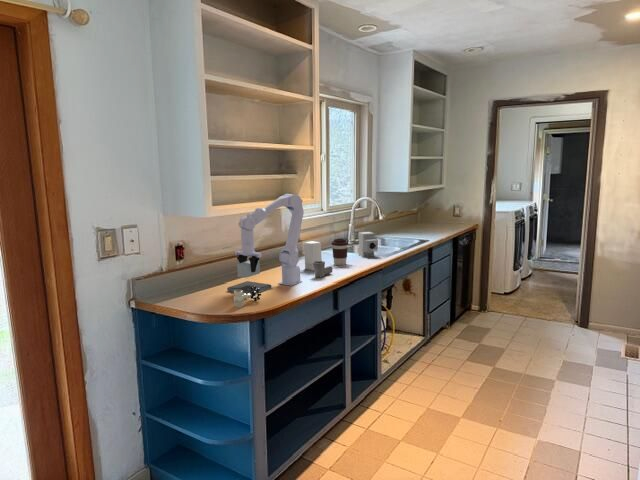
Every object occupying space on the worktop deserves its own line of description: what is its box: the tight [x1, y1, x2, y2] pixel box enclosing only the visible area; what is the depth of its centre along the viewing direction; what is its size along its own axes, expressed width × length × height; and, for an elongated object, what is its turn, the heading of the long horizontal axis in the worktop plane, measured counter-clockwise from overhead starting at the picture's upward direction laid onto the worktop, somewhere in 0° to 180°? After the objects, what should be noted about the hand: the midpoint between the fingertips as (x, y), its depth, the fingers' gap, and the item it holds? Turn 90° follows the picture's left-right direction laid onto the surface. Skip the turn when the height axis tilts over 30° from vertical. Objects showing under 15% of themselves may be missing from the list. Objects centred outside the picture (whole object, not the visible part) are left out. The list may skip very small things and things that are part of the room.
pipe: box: [313, 260, 333, 278], centre depth 234 cm, size 6×13×8 cm, turn 136°
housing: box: [236, 260, 261, 279], centre depth 207 cm, size 10×5×6 cm, turn 149°
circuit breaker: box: [357, 231, 379, 258], centre depth 285 cm, size 8×14×15 cm, turn 21°
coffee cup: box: [331, 238, 349, 266], centre depth 262 cm, size 10×10×15 cm
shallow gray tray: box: [227, 280, 272, 294], centre depth 208 cm, size 14×15×2 cm
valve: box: [233, 286, 262, 308], centre depth 186 cm, size 7×7×12 cm
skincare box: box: [303, 240, 323, 272], centre depth 250 cm, size 8×7×16 cm
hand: (248, 271), depth 207 cm, fingers closed on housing, 5 cm apart
